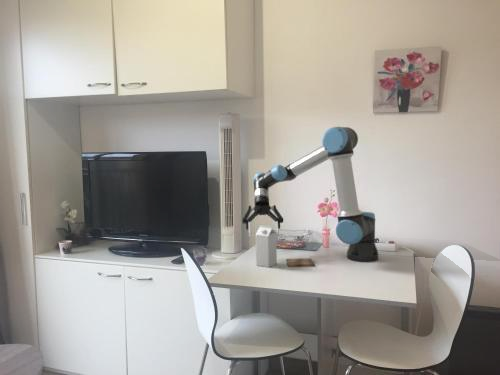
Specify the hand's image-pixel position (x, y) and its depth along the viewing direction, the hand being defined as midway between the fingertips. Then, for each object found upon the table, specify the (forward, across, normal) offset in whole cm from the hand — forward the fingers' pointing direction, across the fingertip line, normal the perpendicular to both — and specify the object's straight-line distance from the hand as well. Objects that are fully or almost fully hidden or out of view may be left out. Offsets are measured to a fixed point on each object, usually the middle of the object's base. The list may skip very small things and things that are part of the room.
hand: (263, 234), depth 202 cm
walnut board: (+12, -17, -7) cm, 22 cm away
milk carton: (+13, -1, -7) cm, 15 cm away
